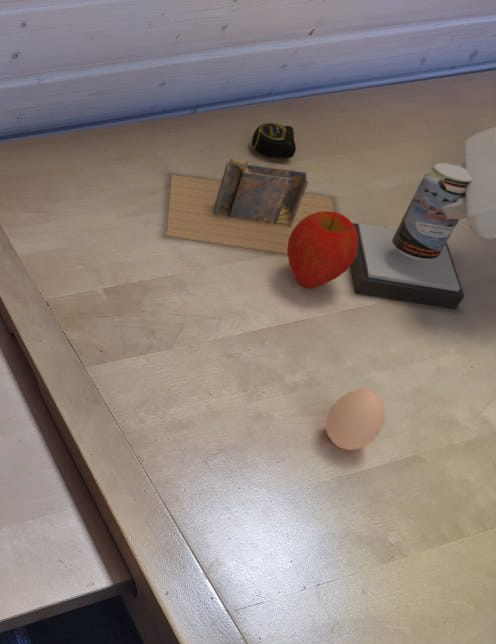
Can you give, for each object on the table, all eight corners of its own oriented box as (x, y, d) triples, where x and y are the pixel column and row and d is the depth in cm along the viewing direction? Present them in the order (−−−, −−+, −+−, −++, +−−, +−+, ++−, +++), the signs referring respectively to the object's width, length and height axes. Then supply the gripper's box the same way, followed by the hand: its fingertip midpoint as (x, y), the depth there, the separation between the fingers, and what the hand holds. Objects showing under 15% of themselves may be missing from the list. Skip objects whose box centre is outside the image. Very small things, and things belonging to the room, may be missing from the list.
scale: (437, 250, 103) (447, 233, 101) (456, 309, 95) (468, 293, 92) (345, 236, 105) (353, 219, 103) (355, 293, 96) (364, 276, 94)
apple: (281, 256, 101) (307, 191, 93) (342, 274, 99) (374, 210, 91) (268, 291, 96) (294, 226, 88) (332, 312, 93) (365, 246, 85)
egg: (369, 465, 77) (402, 418, 71) (319, 457, 77) (348, 410, 71) (361, 427, 80) (393, 379, 74) (314, 419, 81) (341, 371, 75)
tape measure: (291, 165, 117) (298, 145, 115) (249, 159, 118) (255, 138, 116) (289, 144, 122) (297, 124, 119) (249, 138, 123) (255, 118, 120)
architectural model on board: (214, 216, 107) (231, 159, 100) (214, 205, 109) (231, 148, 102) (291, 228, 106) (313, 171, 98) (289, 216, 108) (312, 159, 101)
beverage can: (388, 260, 94) (430, 182, 85) (388, 229, 99) (427, 152, 90) (439, 272, 93) (486, 193, 84) (436, 239, 97) (480, 162, 89)
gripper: (540, 92, 88) (420, 145, 97) (557, 176, 75) (417, 227, 84) (558, 134, 90) (439, 181, 100) (577, 221, 77) (439, 266, 87)
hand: (429, 203), depth 92 cm, fingers closed on beverage can, 5 cm apart
